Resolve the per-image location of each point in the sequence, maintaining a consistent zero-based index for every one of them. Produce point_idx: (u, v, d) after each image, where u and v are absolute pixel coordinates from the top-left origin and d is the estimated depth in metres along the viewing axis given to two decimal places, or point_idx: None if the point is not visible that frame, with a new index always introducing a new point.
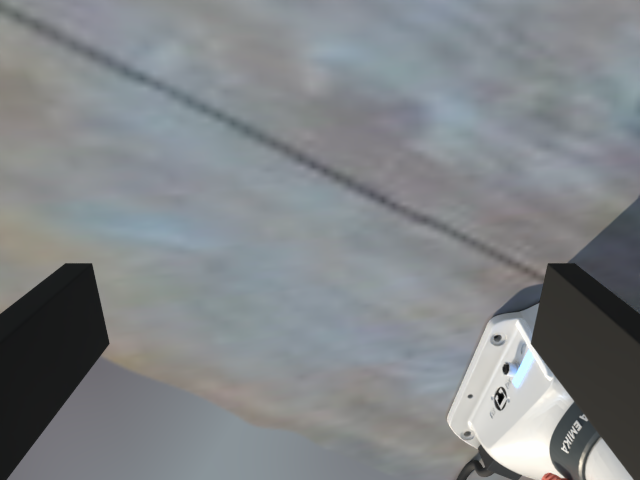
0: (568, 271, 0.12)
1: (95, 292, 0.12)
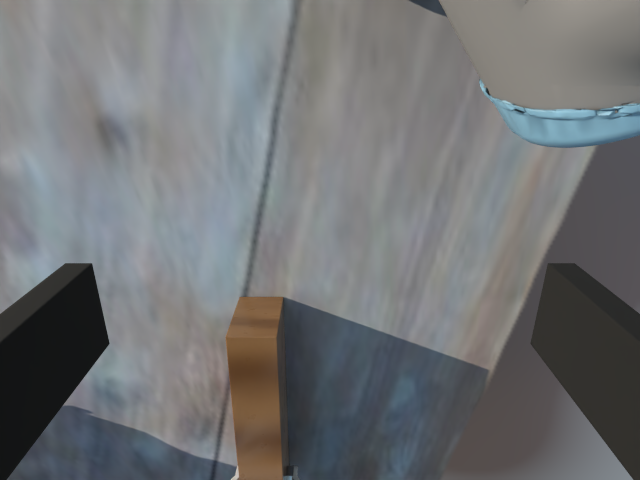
0: (568, 271, 0.12)
1: (95, 292, 0.12)
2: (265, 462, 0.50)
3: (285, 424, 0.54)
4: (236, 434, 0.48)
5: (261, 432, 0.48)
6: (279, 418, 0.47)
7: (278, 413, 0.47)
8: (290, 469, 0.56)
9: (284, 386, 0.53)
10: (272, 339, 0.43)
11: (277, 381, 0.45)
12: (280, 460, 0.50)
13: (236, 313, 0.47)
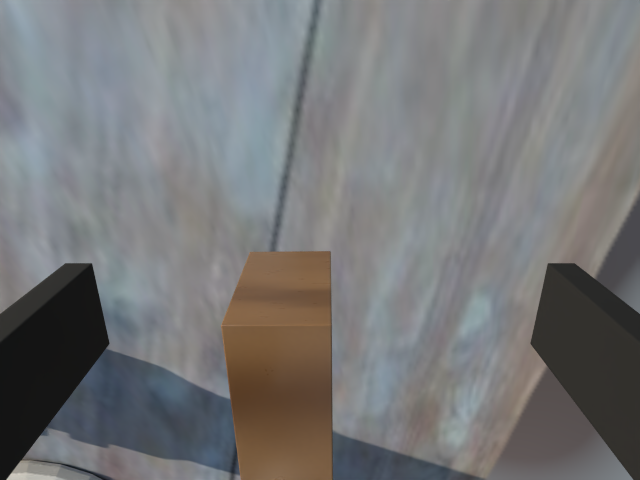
0: (568, 271, 0.12)
1: (95, 292, 0.12)
2: None
3: None
4: None
5: None
6: None
7: (329, 474, 0.24)
8: None
9: None
10: (322, 330, 0.20)
11: (329, 415, 0.22)
12: None
13: (244, 279, 0.24)
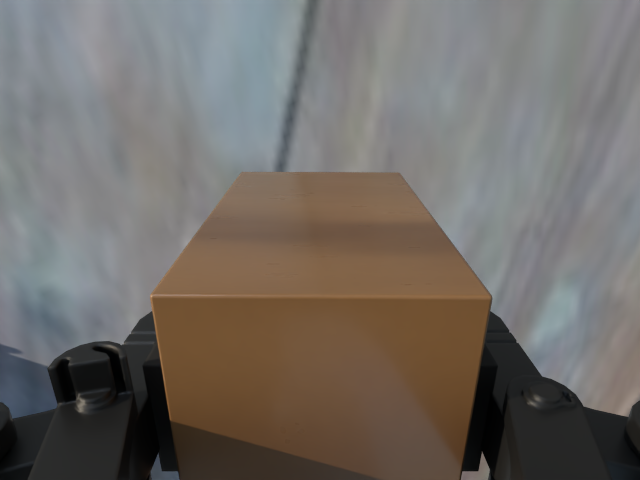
0: None
1: None
2: None
3: None
4: None
5: None
6: None
7: None
8: None
9: None
10: (462, 315, 0.07)
11: None
12: None
13: (227, 206, 0.11)
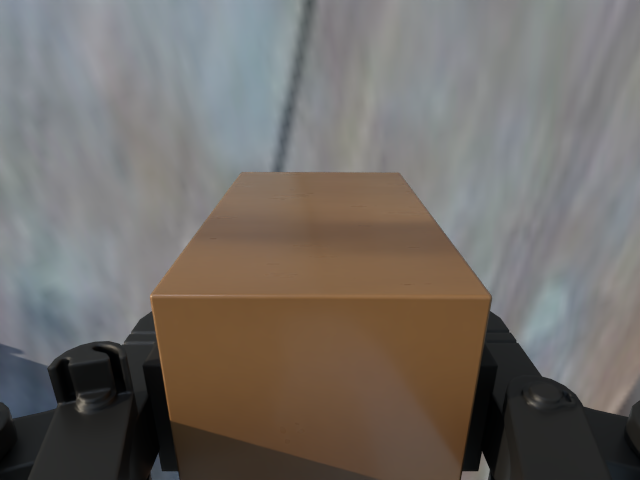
0: None
1: None
2: None
3: None
4: None
5: None
6: None
7: None
8: None
9: None
10: (462, 315, 0.07)
11: None
12: None
13: (227, 206, 0.11)
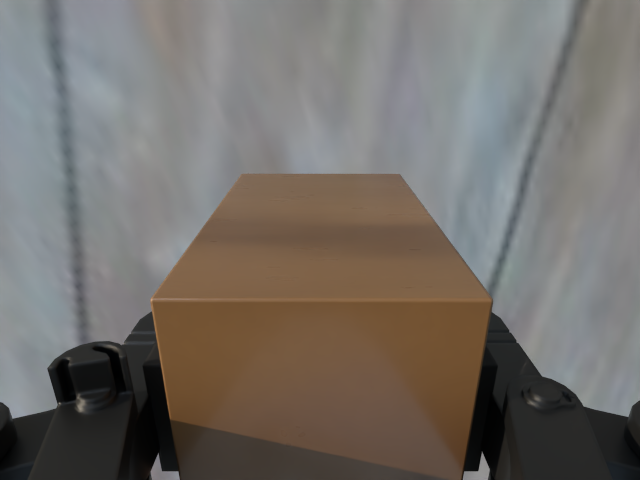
0: None
1: None
2: None
3: None
4: None
5: None
6: None
7: None
8: None
9: None
10: (463, 318, 0.07)
11: None
12: None
13: (227, 208, 0.11)
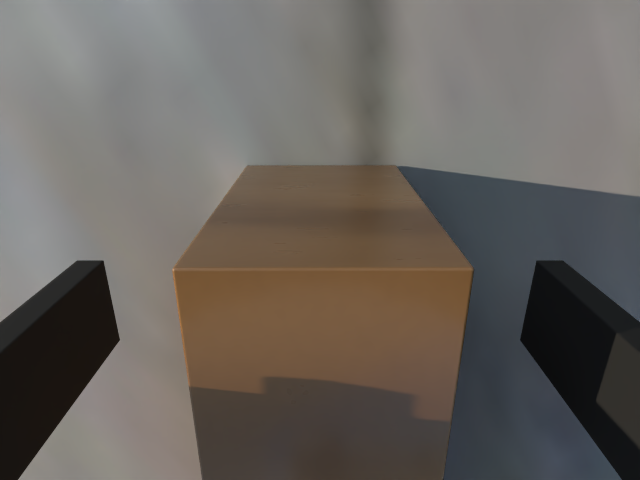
0: (556, 268, 0.12)
1: (106, 289, 0.13)
2: None
3: None
4: None
5: None
6: None
7: None
8: None
9: None
10: (448, 285, 0.07)
11: None
12: None
13: (235, 195, 0.11)
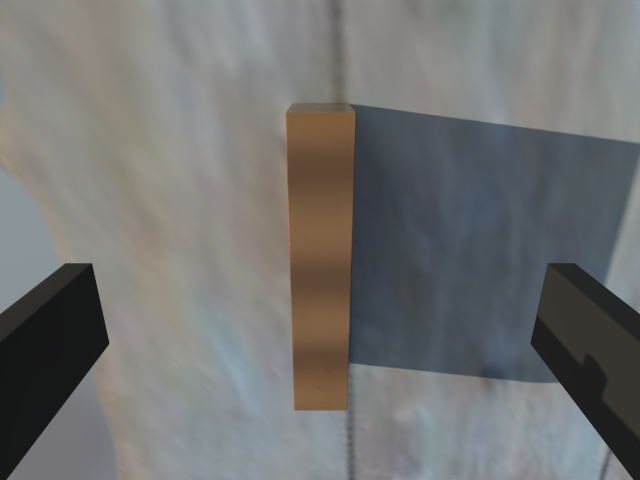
0: (568, 271, 0.12)
1: (95, 292, 0.12)
2: (327, 314, 0.38)
3: None
4: (292, 271, 0.36)
5: (325, 267, 0.36)
6: (350, 246, 0.35)
7: (350, 237, 0.35)
8: None
9: None
10: (350, 117, 0.32)
11: (352, 186, 0.34)
12: (347, 311, 0.38)
13: (293, 107, 0.36)
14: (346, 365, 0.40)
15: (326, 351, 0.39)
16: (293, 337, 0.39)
